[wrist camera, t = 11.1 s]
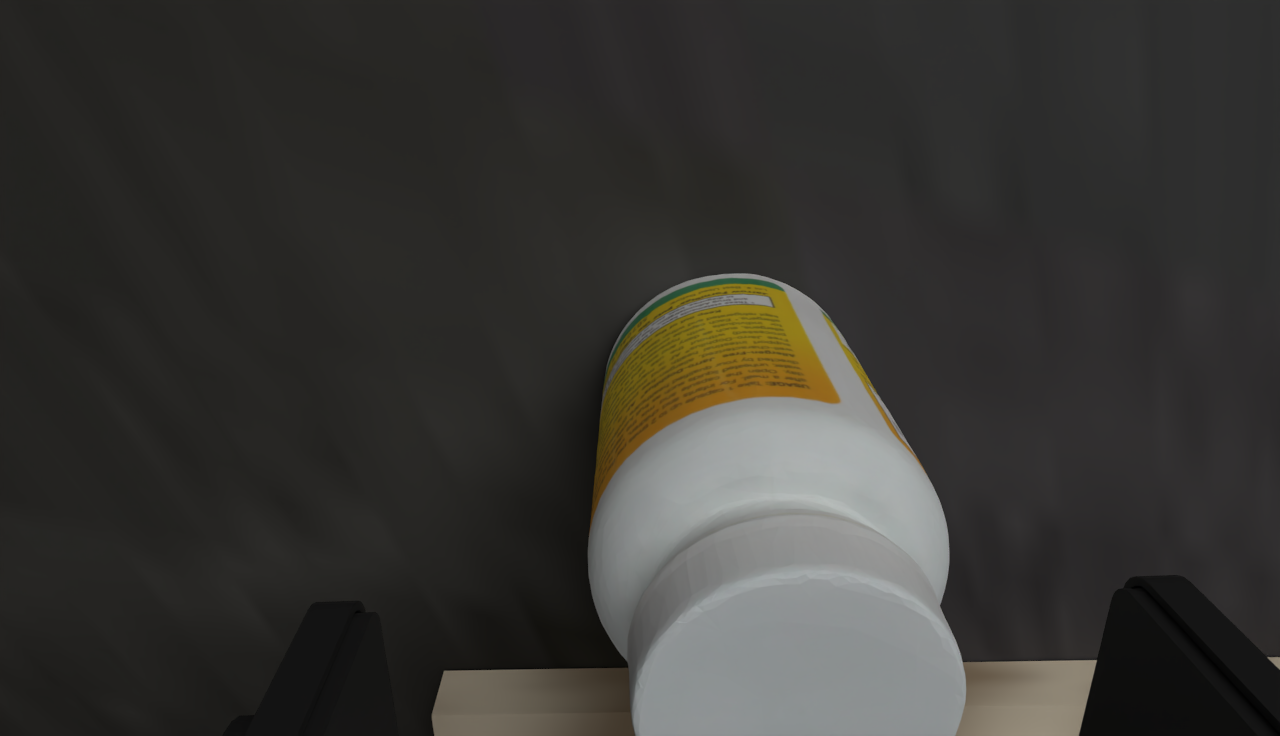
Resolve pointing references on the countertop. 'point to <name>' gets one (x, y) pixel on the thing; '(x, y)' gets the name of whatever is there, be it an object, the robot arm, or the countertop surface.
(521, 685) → the track
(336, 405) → the countertop surface
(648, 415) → the supplement bottle
